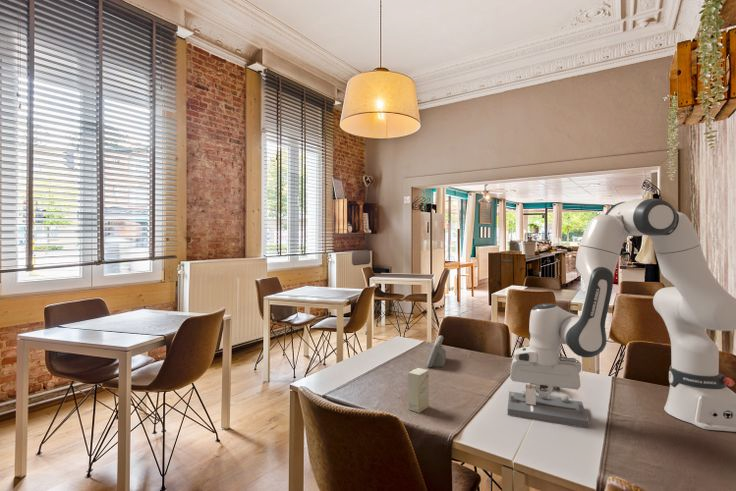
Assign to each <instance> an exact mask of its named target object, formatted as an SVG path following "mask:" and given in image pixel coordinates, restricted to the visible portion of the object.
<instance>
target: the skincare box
mask: <svg viewBox="0 0 736 491" xmlns="http://www.w3.org/2000/svg"><path fill="white" fill-rule="evenodd" d="M429 374H430V372H429V370H428V369H425V368H421V367H416V368H414V369H412V370H410V371H408V372H407V385H408V386H407V387H408V388H407V392H408V394H407V395H408V396H407V397H408V399H407V400H408V401H407V402H408V405H407V407H408V408H407V409H408V410H410V411H412V412H415V413H418V414H419V413H421V412H423V411H425V410H426V409H428V408H429V406H430V400H429V398H430V392H429V390H430V389H429V387H430V385H429V378H430V377H429V376H430V375H429Z"/></svg>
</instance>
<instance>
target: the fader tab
mask: <svg viewBox="0 0 736 491" xmlns="http://www.w3.org/2000/svg"><path fill="white" fill-rule="evenodd" d="M525 391H526V404H531V405H536V395H537V389H536V388H535V385H532V384H530V383H525Z"/></svg>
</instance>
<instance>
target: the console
mask: <svg viewBox="0 0 736 491" xmlns="http://www.w3.org/2000/svg"><path fill="white" fill-rule="evenodd" d="M507 416H512V417H518V418H525V419H532V420H537V421H543V422H549V423H555V424H561V425H567V426H574V427H580V428H586V429H589V419H588V416H587V413H586V410H585V407H584V404H583V401H580V400H574V399H570V398H569V397H568V396H561V398H559V397H558V398H557V397H554V396H553V397H552V396H551V397H550V396H549V399H542V398H539V394H536V405H531V404H526V390H523V391H521V392H517V391H509V394H508V400H507Z"/></svg>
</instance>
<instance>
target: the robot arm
mask: <svg viewBox="0 0 736 491" xmlns="http://www.w3.org/2000/svg"><path fill="white" fill-rule="evenodd" d="M630 236H631V237H641V236H648V237H649V239H650V241H651V243H652V246H653V250H654V255H655V257H656V260H657V262H658V266H659V270H660V272H661V275H662V276H663V277H664V279H666V280H667V281H668V282H670V283H671V284H672V286H668V287H662V288H660V289H658V290H657V291H656V292H655V294H654V296H653V298H652V305H653V307H654V310H655V311H656V312H657V313H658V314H659V315H660V317H661V318H662V320H663V322H664V324H665V327H666V330H667V333H668V336H669V339H670V348H671V349H670V350H671V351H670V352H671V353H670V356H671V357H670V359H671V364H670V365H669V371H668V381H669V391H668V396H667V398H666V402H665V405H664V408H663V409H664V411H665V413H667V414H669V415H670V416H672V417H674V418H676V419H679V420H681V421H683V422H687V423H689V424H692V425H694V426H696V427H698V428H700V429H704V430H709V431H722V432H723V431H724V432H733V433H735V432H736V392H734V391H733V390H731V389H730V388H729V387H734V385H735V384H736V383H735V381H734V380H733V379H732V378H730V377H726V376H725V375H724V374H722V373H721V372H719V368H720V367H719V364H720V363H719V362H720V360H719V359H720V358H719V357H720V350H719V348H718V346H717V343H715V342H714V341H713V340H712V339H711V337H710V336H709V335H708V333H707V331H706V330H710V331H722V332H732V331H736V297H734V296H733V295H731V294H730V293H729V292H728V291H727V290H726V289H725V288H724V287H723V286H722V285H721V283H720V282H719V281H718V280H717V278H716V277H715V275H714V274H713V273H712V272H711V269H710V268H709V265H708V264H707V260H706V257H705V255H704V251H703V248H702V246H701V242H700V240H699V236H698V234H697V231H696V229H695V227H694V226H693V223H692V222H691V220H690V219H689V217H688V216H687V215H686V214H685V213H683V212H681V211H677V210H676V208H674V206H673V205H672V204H671V203H669V202H668V201H666V200H663V199H659V198H638V199H637V198H636V199H633V200H628V201H621V202H617V203H615V204H614V205H612V206H610V208H609V209H608V210H607V211H606V212H605V213H604V214H598V215H595V216H593V217H592V218H591V219H590V221H589V223H588V224H587V226H586V227H585V230H584V231H583V234H582V237H581V239H580V242H579V244H578V245H579V246H578V249H577V252H576V256H575V268H576V270H577V272H578V273H579V275H580V276H581V278H582V280H583V282H584V287H585V290H584V291H585V292H584V298H583V302H582V306H581V311H580V315H578V314H574V313H572V312H569V311H567V310H564V309H563V308H561V307H559V306H558V305H557V304H555V303H539V304H537V305H535V306H533V307H532V308H531V310H530V313H529V314H530V315H529V321H528V322H529V323H528V324H529V325H528V326H529V328H528V331H529V334H530V335H529V336H530V338H529V342H528V346H523V347H518V348H516V349H515V351H514V354H513V355H514V356H513V359H512V361H511V365H510V374H509V378H510V380H511V381H512V382H515V383H516V382H517V383H525V384H530V383H531V384H535V388H536V392H537V394H538V396H539V398H542V399H549V397H550V394H551V393H552V392H553V391H554V388H556V387H560V388H562V389H571V390H576V391H577V390H579V389H580V388H581V378H580V372H582V363H581V362H580V360H578V359H576V358H575V357H567V356H566V357H565V356H561V354H560V350H561V349H560V348H561V345H566V346H567V347H568V348H569V349H570V350H571V352H573V353H574V354H575V355H577V356H579V357H581V358H593V357H595V356H598V355H600V354H601V353H602V352H603V351H604V350H605V348H606V346H607V340H608V339H607V338H608V337H607V331H606V320H607V317H608V313H609V312H608V311H609V308H610V302H611V298H612V293H613V287H614V280H615V273H616V269H617V266H618V261H619V259H620V255H621V251H622V247H623V244H624V242H625V241H626V240H627V238H629V237H630ZM540 385H546V386H548V388H547V390H546V391H542V389H541V390H540Z"/></svg>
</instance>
